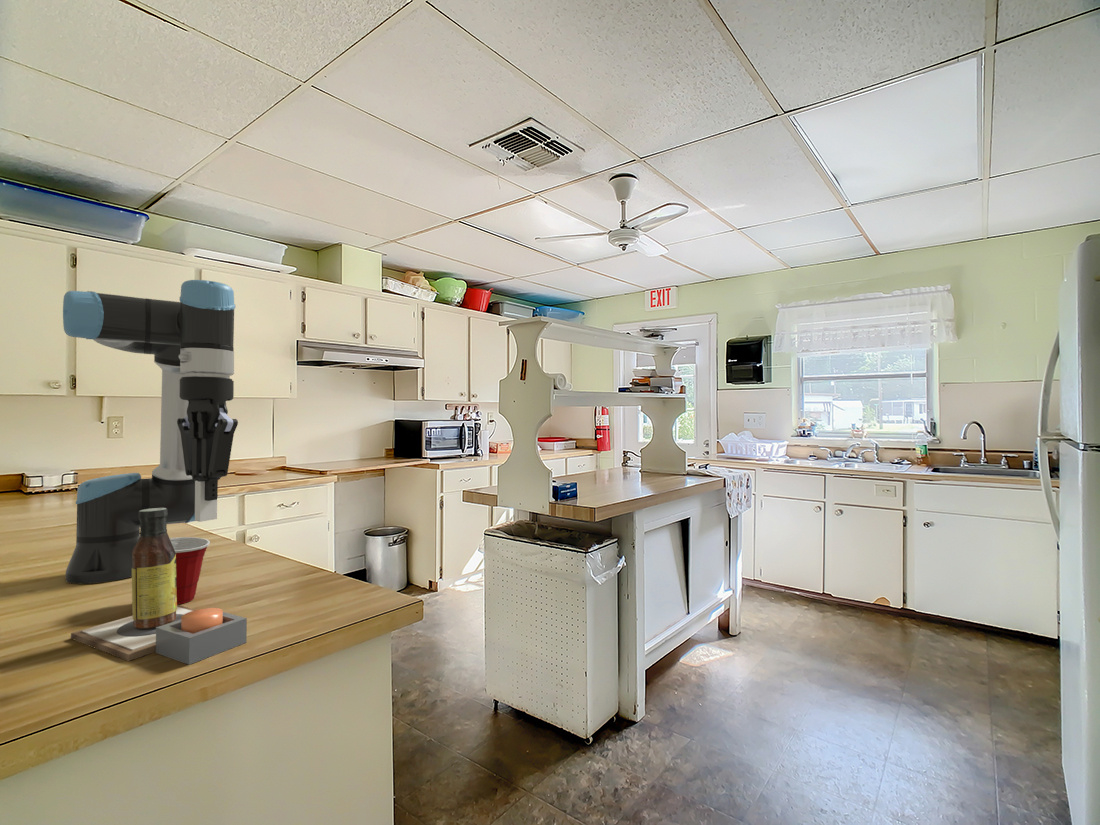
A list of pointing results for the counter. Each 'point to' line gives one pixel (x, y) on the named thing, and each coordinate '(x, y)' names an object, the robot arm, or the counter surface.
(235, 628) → the button housing
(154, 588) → the sauce bottle
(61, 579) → the counter surface
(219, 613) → the button
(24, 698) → the counter surface
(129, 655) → the board
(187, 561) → the plastic cup
